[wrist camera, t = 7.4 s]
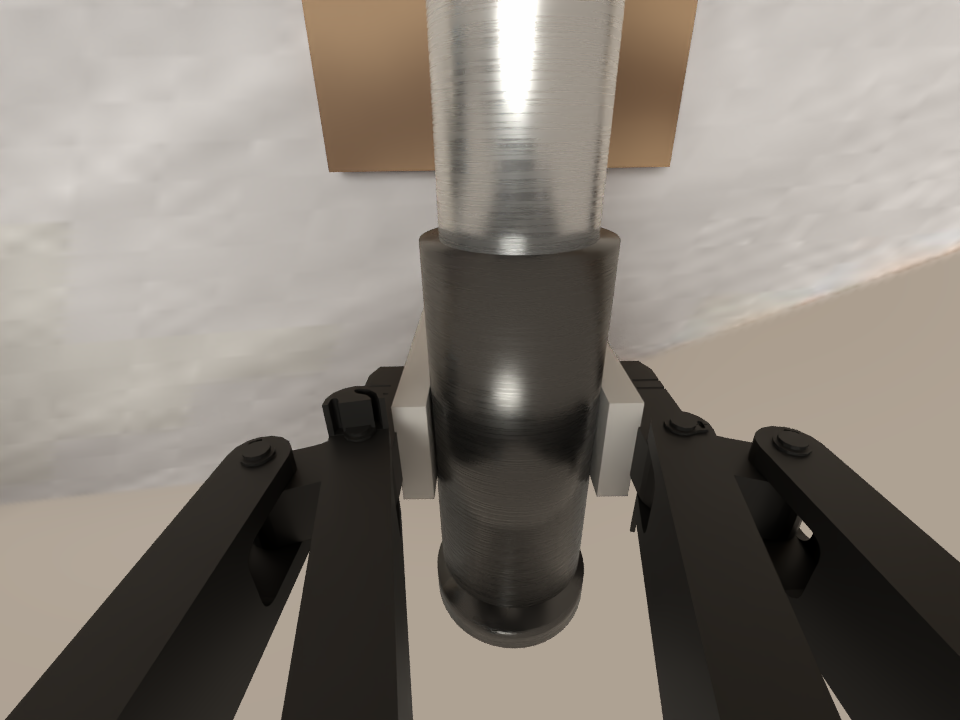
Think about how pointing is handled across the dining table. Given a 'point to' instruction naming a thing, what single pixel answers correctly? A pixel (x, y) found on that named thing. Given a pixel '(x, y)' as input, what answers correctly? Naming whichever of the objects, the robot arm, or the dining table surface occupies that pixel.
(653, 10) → the bearing block stand
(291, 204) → the dining table surface
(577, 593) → the shaft
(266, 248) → the dining table surface
